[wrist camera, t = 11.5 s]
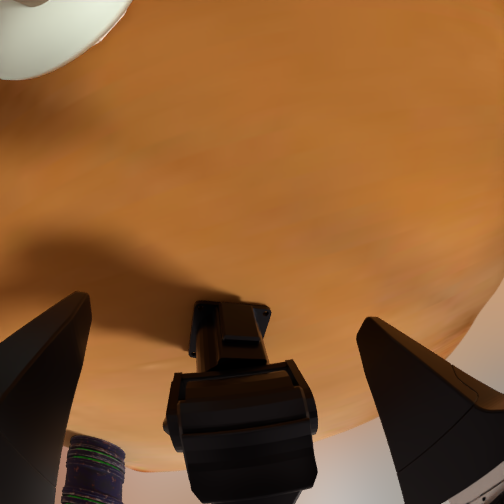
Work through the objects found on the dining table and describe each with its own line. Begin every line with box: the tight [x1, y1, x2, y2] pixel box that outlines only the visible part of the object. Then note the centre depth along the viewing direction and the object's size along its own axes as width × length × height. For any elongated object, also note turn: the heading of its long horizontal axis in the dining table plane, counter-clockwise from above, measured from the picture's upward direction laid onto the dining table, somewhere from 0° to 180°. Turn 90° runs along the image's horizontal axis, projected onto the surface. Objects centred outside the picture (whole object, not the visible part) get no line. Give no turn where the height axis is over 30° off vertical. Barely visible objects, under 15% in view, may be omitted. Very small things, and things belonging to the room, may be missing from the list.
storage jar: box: [61, 435, 125, 504], centre depth 28 cm, size 10×10×15 cm
